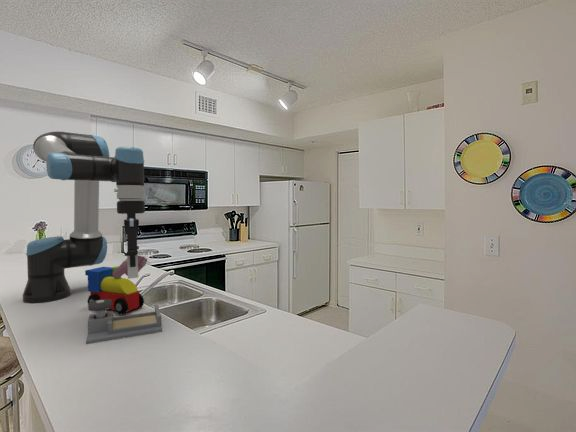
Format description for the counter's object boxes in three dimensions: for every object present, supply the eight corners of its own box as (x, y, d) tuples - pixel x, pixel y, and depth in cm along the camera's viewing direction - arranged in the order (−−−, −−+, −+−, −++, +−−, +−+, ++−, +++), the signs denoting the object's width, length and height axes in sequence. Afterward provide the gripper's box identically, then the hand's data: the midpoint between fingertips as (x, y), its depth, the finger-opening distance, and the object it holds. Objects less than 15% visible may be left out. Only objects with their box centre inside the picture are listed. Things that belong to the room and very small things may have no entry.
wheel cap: (89, 319, 97) (89, 299, 97) (112, 316, 100) (112, 297, 100) (87, 326, 92) (87, 305, 92) (112, 322, 94) (111, 302, 94)
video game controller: (122, 284, 94) (131, 262, 93) (109, 276, 94) (118, 255, 94) (143, 276, 104) (152, 256, 103) (131, 269, 104) (140, 250, 103)
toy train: (104, 302, 124) (103, 262, 123) (145, 308, 117) (144, 266, 116) (81, 309, 116) (80, 267, 115) (124, 316, 108) (123, 271, 108)
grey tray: (91, 323, 102) (91, 309, 102) (157, 314, 110) (157, 300, 110) (86, 343, 88) (85, 327, 87) (162, 331, 96) (161, 316, 96)
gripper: (117, 200, 107) (119, 268, 108) (115, 200, 86) (117, 284, 87) (143, 200, 110) (144, 266, 111) (146, 200, 89) (148, 280, 90)
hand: (132, 274), depth 99 cm, fingers closed on video game controller, 10 cm apart
